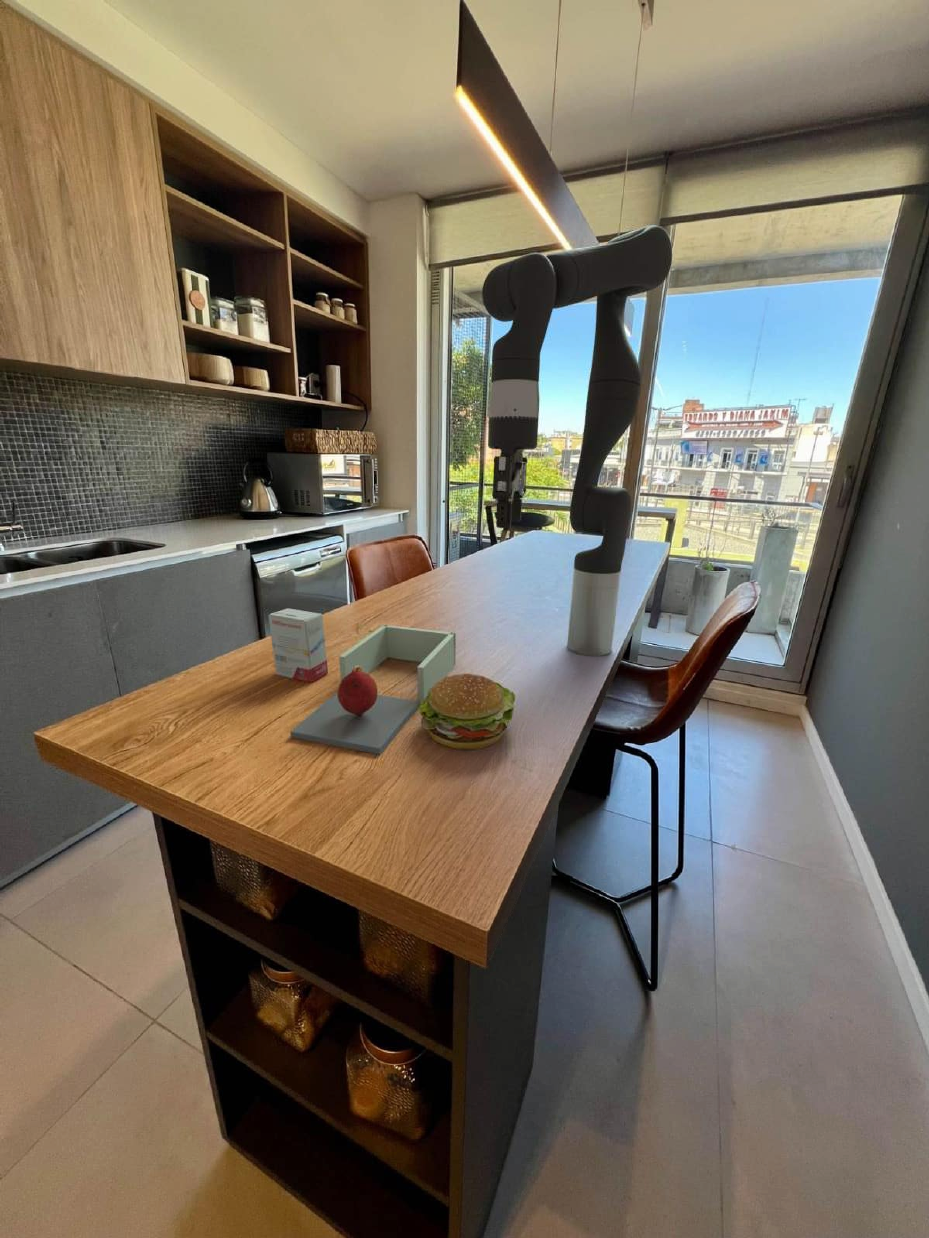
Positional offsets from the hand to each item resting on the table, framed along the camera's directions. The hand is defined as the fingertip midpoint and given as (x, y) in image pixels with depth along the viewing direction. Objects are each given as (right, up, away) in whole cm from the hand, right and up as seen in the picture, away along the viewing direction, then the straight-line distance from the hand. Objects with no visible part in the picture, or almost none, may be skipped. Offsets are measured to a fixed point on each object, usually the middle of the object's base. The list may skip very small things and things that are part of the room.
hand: (509, 524), depth 79 cm
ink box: (-37, -26, +11) cm, 46 cm away
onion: (-23, -30, -5) cm, 38 cm away
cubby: (-19, -26, +10) cm, 34 cm away
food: (-6, -32, -6) cm, 33 cm away
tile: (-23, -31, -4) cm, 39 cm away
